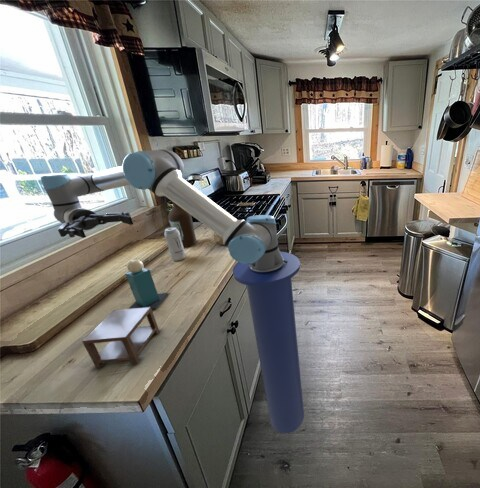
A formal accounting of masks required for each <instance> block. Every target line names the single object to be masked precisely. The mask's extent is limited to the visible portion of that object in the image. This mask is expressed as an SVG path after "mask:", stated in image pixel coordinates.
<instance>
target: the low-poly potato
mask: <svg viewBox="0 0 480 488" xmlns="http://www.w3.org/2000/svg"><path fill="white" fill-rule="evenodd" d="M212 237H213V238H214V241H215V242H216V243H218V244H219V245H221V246H225V245H224V244H223V238H222V237H221V236H219V235H218V234H216V233H215V232H214V231H213V234H212Z"/></svg>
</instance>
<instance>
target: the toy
mask: <svg viewBox="0 0 480 488" xmlns="http://www.w3.org/2000/svg"><path fill="white" fill-rule="evenodd" d="M126 269H127V270H128V271H127V272H125V273H124V275H125V277H126V280H127V282H128V285H129V288H130V291H131V293H132V295H133V297H134V301H135V302H136V303H137V304H139V305H141V306H143V307H146V306H148V305H150V304H152V303H154V302H156V301H157V300H159V296H158V294H159V293H158V291H157V288H156V285H155V282H154V279H153V276H152V273H151V270H150V269H148V268H146V267H144V263H143V262H142V261H141V260H139V259H131V260H129V262H128V263H127V265H126Z"/></svg>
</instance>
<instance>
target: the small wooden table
mask: <svg viewBox="0 0 480 488" xmlns="http://www.w3.org/2000/svg"><path fill="white" fill-rule="evenodd" d="M144 319H147V322H148V324H149V325H145V326H140V325H141V324H142V322H143V321H144ZM159 333H160V329H159V326H158V323H157V320H156V317H155V315H154V312H153V310H152V309H151V307H145V308H133V309H129V308H123V309H114V310H112V312H110V313H109V314H108V315H107V316H106V317H105V318H104V319H102V321H101V322H100V323H99V324H98V325H97V326H96V327H95V328H94V329H93V330H92V331H91V332H90V333H89V334H88V335H86V337H85V338H84V339H82V344H83V346H84V348H85V350H86V351H87V353H88V356H89V358H90V359H91V361H92V364H93V366H94V367H95V368H96V369H101V368H102V367H103V366H104V365H105V363H111V362H113V363H114V362H121V361H130V362H131V364H132V365H137V364H139V362H140V361H141V359H140V357H139V355H140V354H141V352H142V351H143V349H144V348H145V346H146V345H147V343H148V342H149V341H150V340H151V338H152V336H153V335H158V334H159ZM98 343H107V345H106V346H104V348H102V350H101V351H100V352H99V350H98V349H97V347H96V345H95V344H98Z"/></svg>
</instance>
